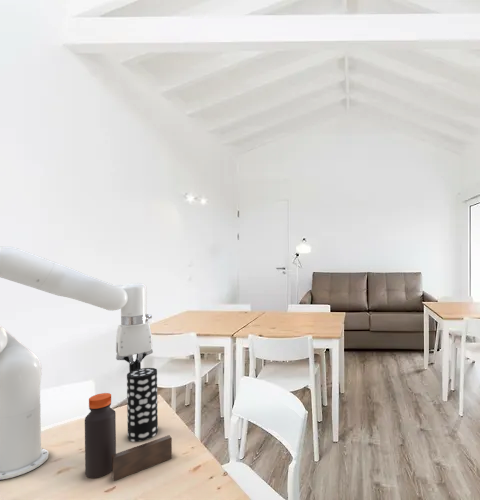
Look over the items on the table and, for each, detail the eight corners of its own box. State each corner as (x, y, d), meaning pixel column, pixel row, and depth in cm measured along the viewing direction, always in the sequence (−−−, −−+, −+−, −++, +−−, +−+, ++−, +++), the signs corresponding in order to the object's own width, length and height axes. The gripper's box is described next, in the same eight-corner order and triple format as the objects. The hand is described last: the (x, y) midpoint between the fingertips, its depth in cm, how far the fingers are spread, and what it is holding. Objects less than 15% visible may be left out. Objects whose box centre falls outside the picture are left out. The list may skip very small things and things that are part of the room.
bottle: (113, 474, 93) (112, 399, 93) (81, 481, 91) (80, 404, 90) (118, 460, 99) (117, 389, 99) (89, 466, 97) (88, 393, 97)
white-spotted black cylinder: (144, 443, 108) (143, 378, 108) (121, 440, 110) (120, 376, 109) (163, 429, 116) (163, 368, 116) (141, 426, 118) (141, 367, 118)
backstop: (113, 481, 91) (113, 458, 90) (111, 477, 92) (111, 454, 92) (171, 458, 100) (171, 437, 100) (169, 455, 102) (169, 434, 102)
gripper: (155, 315, 127) (156, 366, 128) (105, 321, 117) (106, 376, 117) (161, 318, 122) (162, 371, 122) (110, 325, 111) (111, 383, 112)
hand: (135, 373), depth 120 cm, fingers closed
